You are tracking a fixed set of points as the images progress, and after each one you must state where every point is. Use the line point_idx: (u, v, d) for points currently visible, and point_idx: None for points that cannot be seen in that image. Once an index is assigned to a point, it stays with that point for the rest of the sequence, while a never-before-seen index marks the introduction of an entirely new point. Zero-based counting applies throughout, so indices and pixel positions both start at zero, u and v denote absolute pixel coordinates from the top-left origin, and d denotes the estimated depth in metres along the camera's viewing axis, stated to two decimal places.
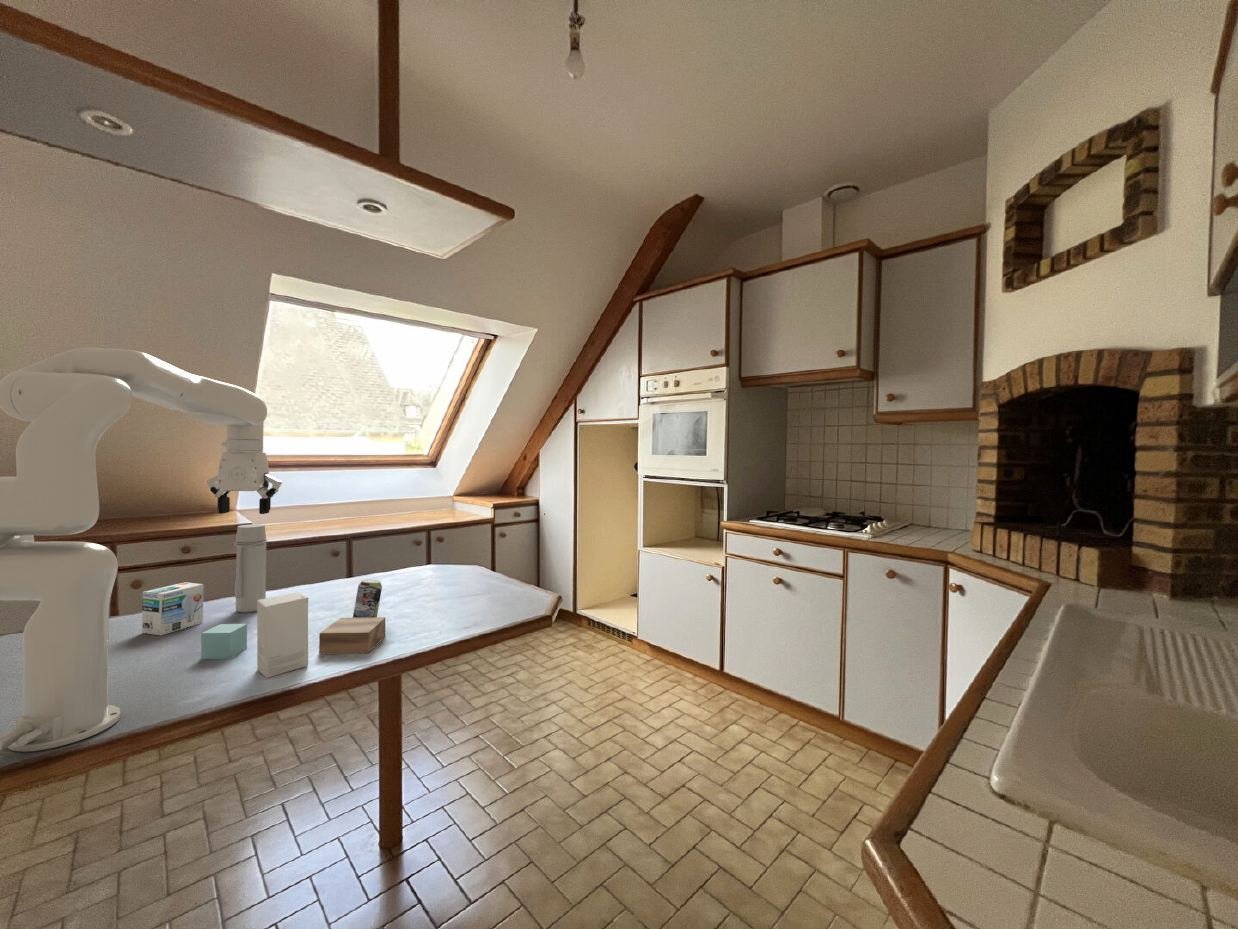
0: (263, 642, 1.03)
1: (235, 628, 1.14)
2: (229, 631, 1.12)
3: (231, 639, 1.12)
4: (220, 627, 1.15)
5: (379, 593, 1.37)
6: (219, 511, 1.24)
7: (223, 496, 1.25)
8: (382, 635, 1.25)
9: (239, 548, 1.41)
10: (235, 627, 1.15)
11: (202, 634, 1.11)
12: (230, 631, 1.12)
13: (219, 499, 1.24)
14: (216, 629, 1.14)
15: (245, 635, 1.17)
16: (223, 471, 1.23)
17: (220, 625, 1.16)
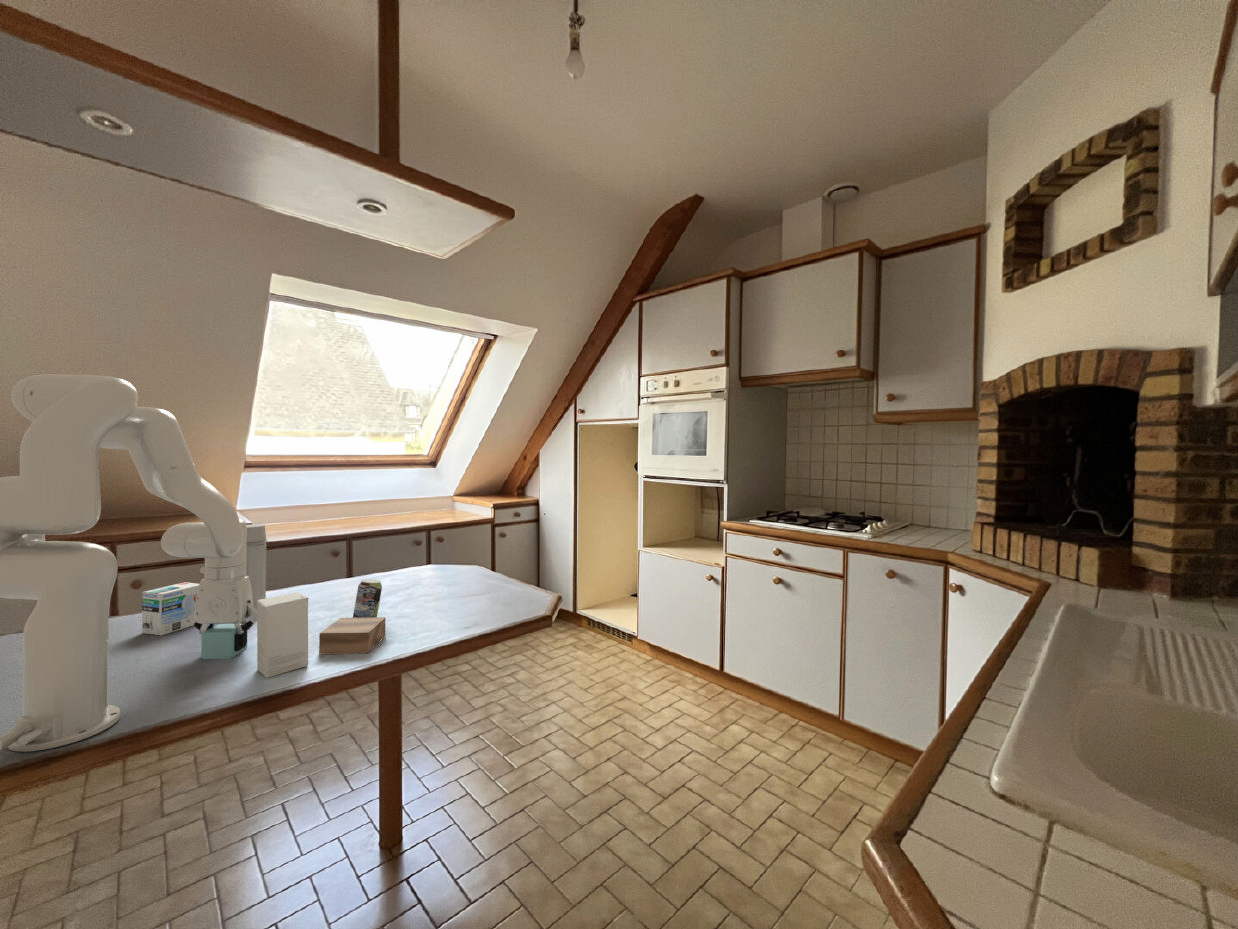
0: (263, 642, 1.03)
1: (235, 628, 1.14)
2: (229, 631, 1.12)
3: (231, 639, 1.12)
4: (220, 627, 1.15)
5: (379, 593, 1.37)
6: None
7: None
8: (382, 635, 1.25)
9: None
10: None
11: (202, 634, 1.11)
12: (230, 631, 1.12)
13: None
14: (216, 628, 1.14)
15: None
16: (201, 603, 1.11)
17: (220, 625, 1.16)
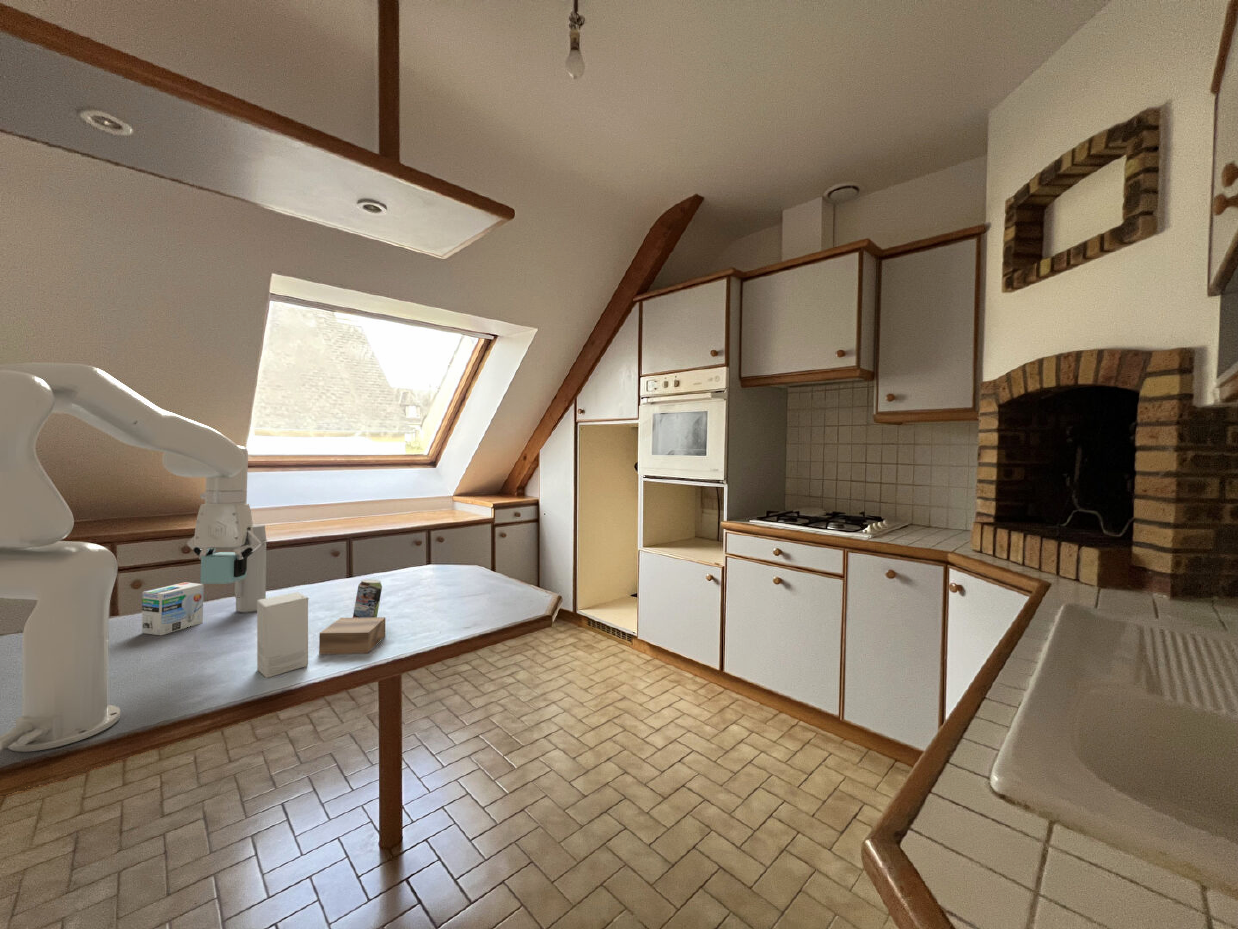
0: (263, 642, 1.03)
1: None
2: (229, 556, 1.12)
3: (231, 564, 1.11)
4: (220, 553, 1.14)
5: (379, 593, 1.37)
6: None
7: None
8: (382, 635, 1.25)
9: None
10: None
11: (202, 558, 1.10)
12: (230, 556, 1.12)
13: None
14: (216, 554, 1.13)
15: None
16: (201, 526, 1.11)
17: (220, 552, 1.15)
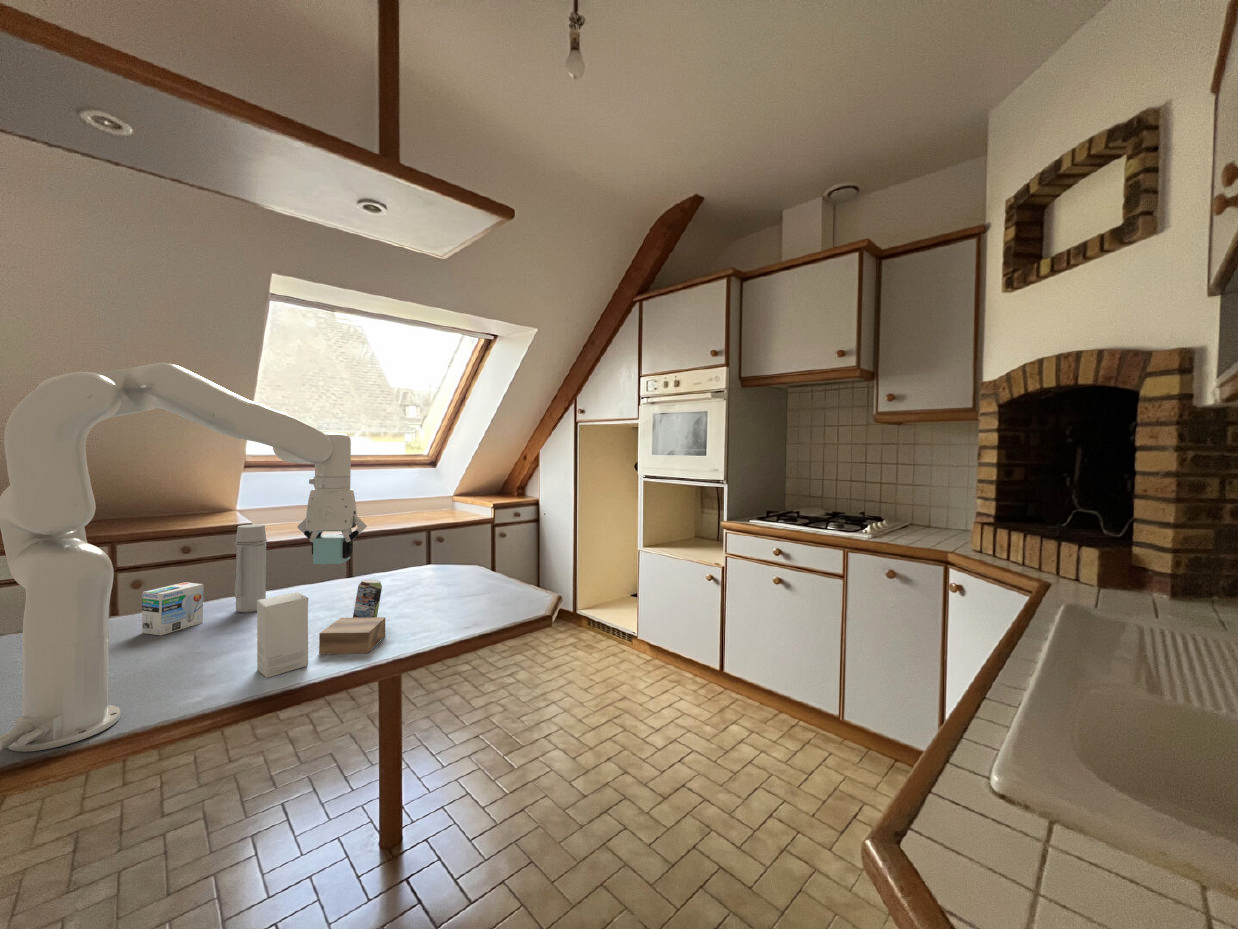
0: (263, 642, 1.03)
1: (342, 537, 1.20)
2: (338, 538, 1.18)
3: (341, 546, 1.18)
4: (327, 536, 1.20)
5: (379, 593, 1.37)
6: None
7: None
8: (382, 635, 1.25)
9: (239, 548, 1.41)
10: (341, 536, 1.21)
11: (314, 540, 1.16)
12: (339, 538, 1.18)
13: None
14: (325, 537, 1.19)
15: None
16: (312, 511, 1.16)
17: (326, 535, 1.21)
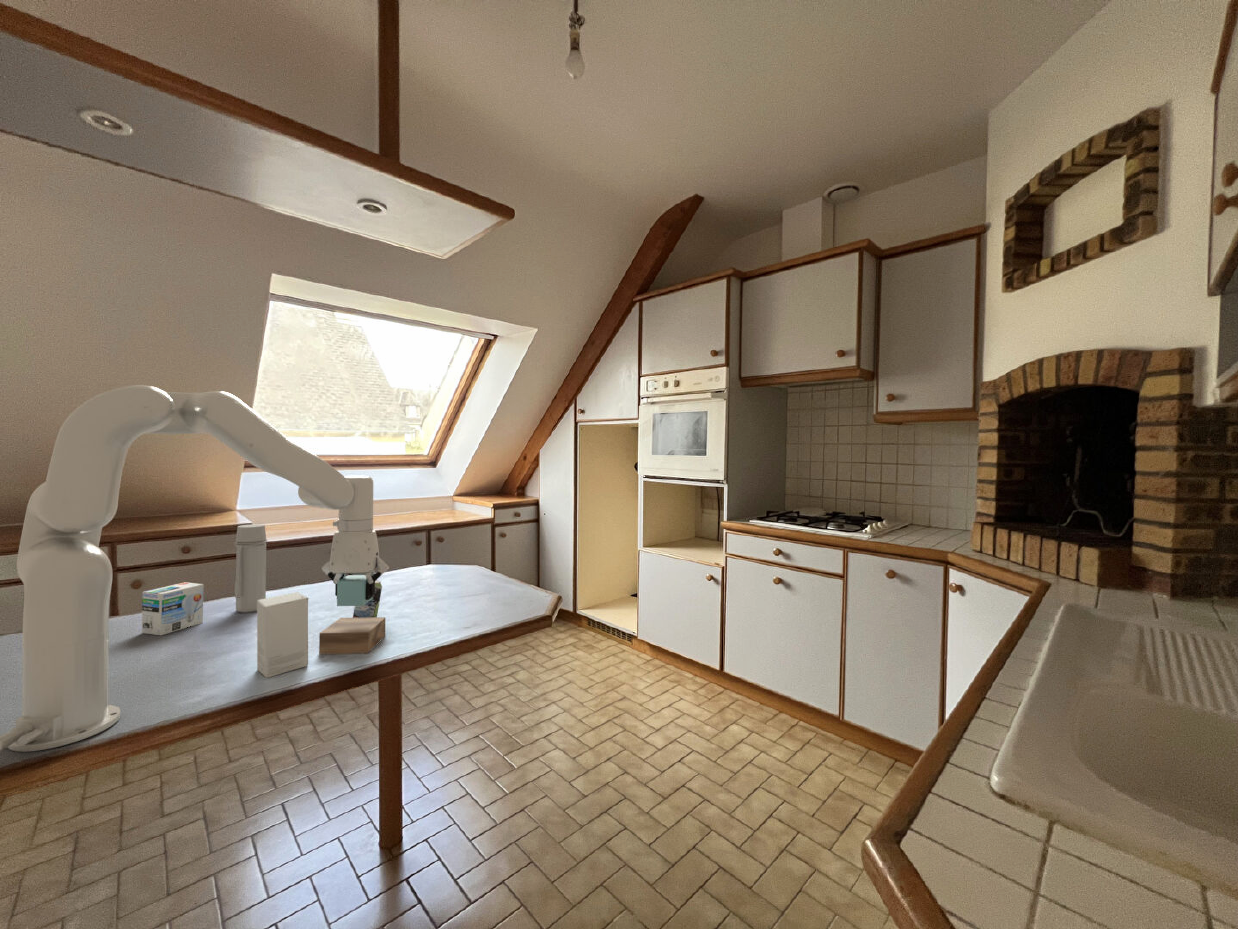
0: (263, 642, 1.03)
1: (365, 578, 1.21)
2: (361, 580, 1.19)
3: (364, 587, 1.19)
4: (350, 577, 1.22)
5: (379, 593, 1.37)
6: None
7: None
8: (382, 635, 1.25)
9: (239, 548, 1.41)
10: (364, 577, 1.22)
11: (338, 582, 1.18)
12: (362, 580, 1.19)
13: None
14: (348, 578, 1.21)
15: None
16: (336, 553, 1.18)
17: (349, 576, 1.23)
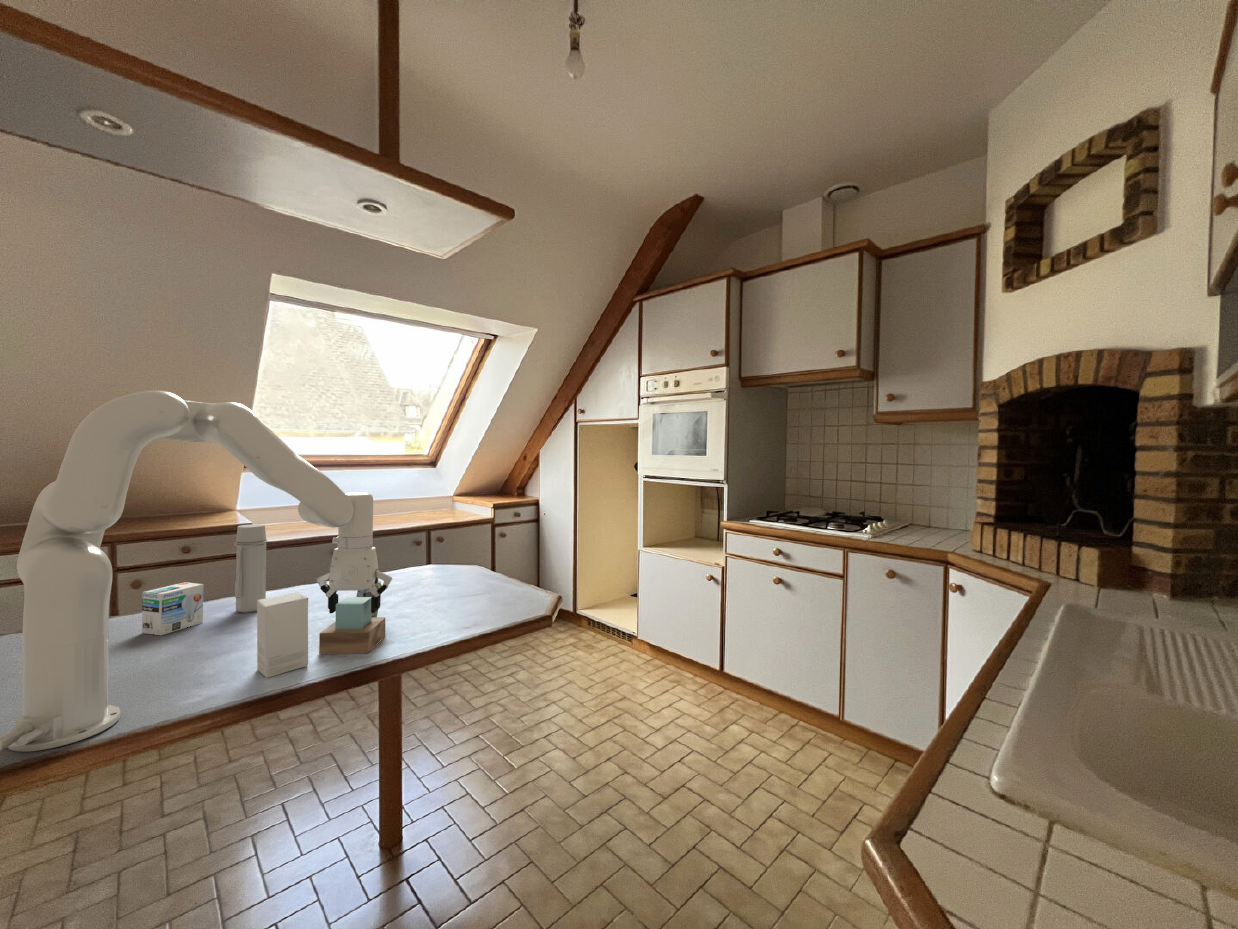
0: (263, 642, 1.03)
1: (364, 600, 1.21)
2: (360, 603, 1.19)
3: (362, 611, 1.19)
4: (349, 599, 1.22)
5: None
6: (330, 611, 1.19)
7: (333, 595, 1.20)
8: (382, 635, 1.25)
9: (239, 548, 1.41)
10: (363, 600, 1.22)
11: (336, 605, 1.18)
12: (361, 603, 1.19)
13: (330, 599, 1.19)
14: (347, 601, 1.20)
15: (370, 607, 1.24)
16: (335, 570, 1.18)
17: (348, 598, 1.23)
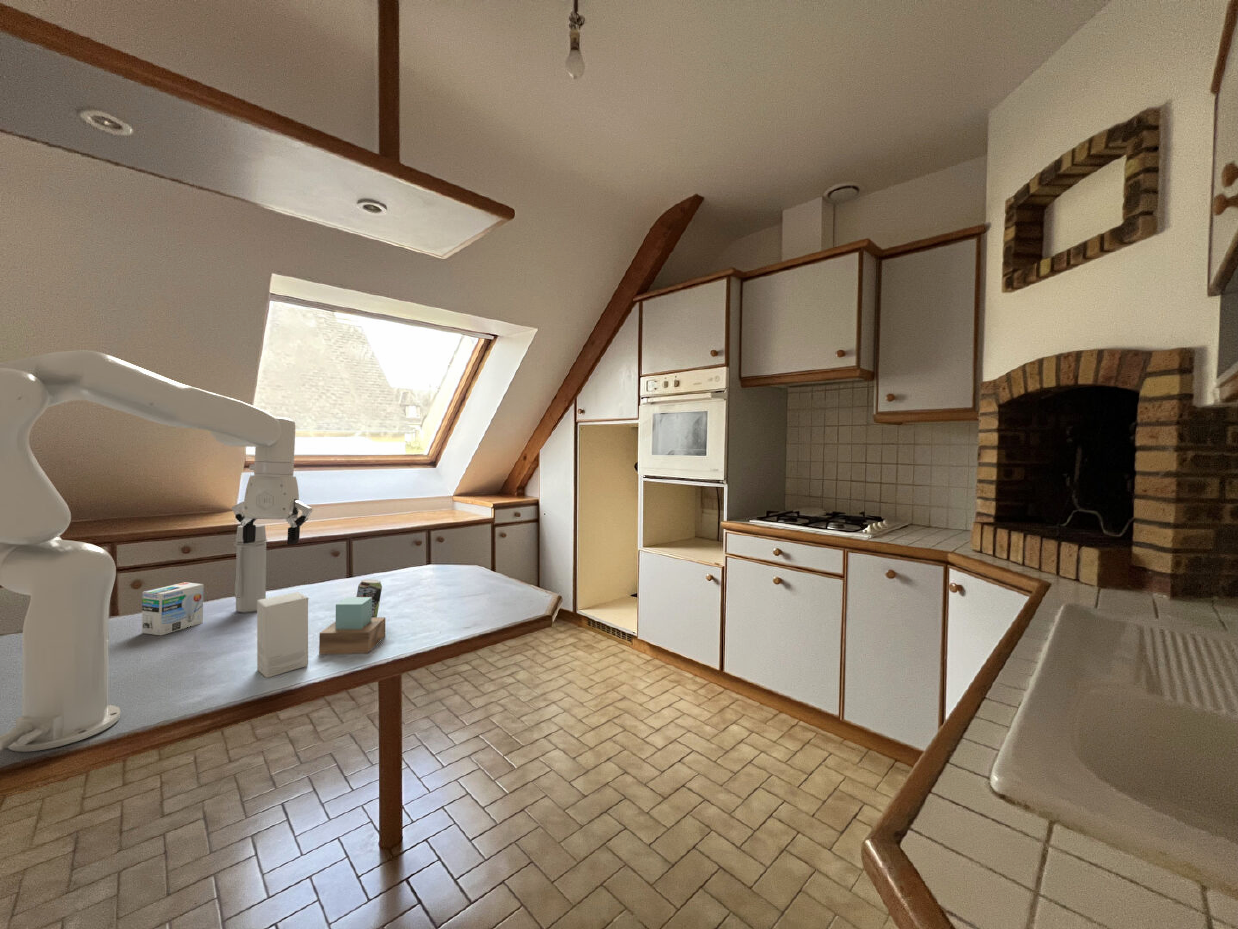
0: (263, 642, 1.03)
1: (364, 600, 1.21)
2: (360, 603, 1.19)
3: (362, 611, 1.19)
4: (349, 599, 1.22)
5: (379, 593, 1.37)
6: (244, 541, 1.12)
7: (249, 524, 1.14)
8: (382, 635, 1.25)
9: (239, 548, 1.41)
10: (363, 600, 1.22)
11: (336, 605, 1.18)
12: (361, 603, 1.19)
13: (244, 528, 1.12)
14: (347, 601, 1.20)
15: (370, 607, 1.24)
16: (250, 497, 1.12)
17: (348, 598, 1.23)
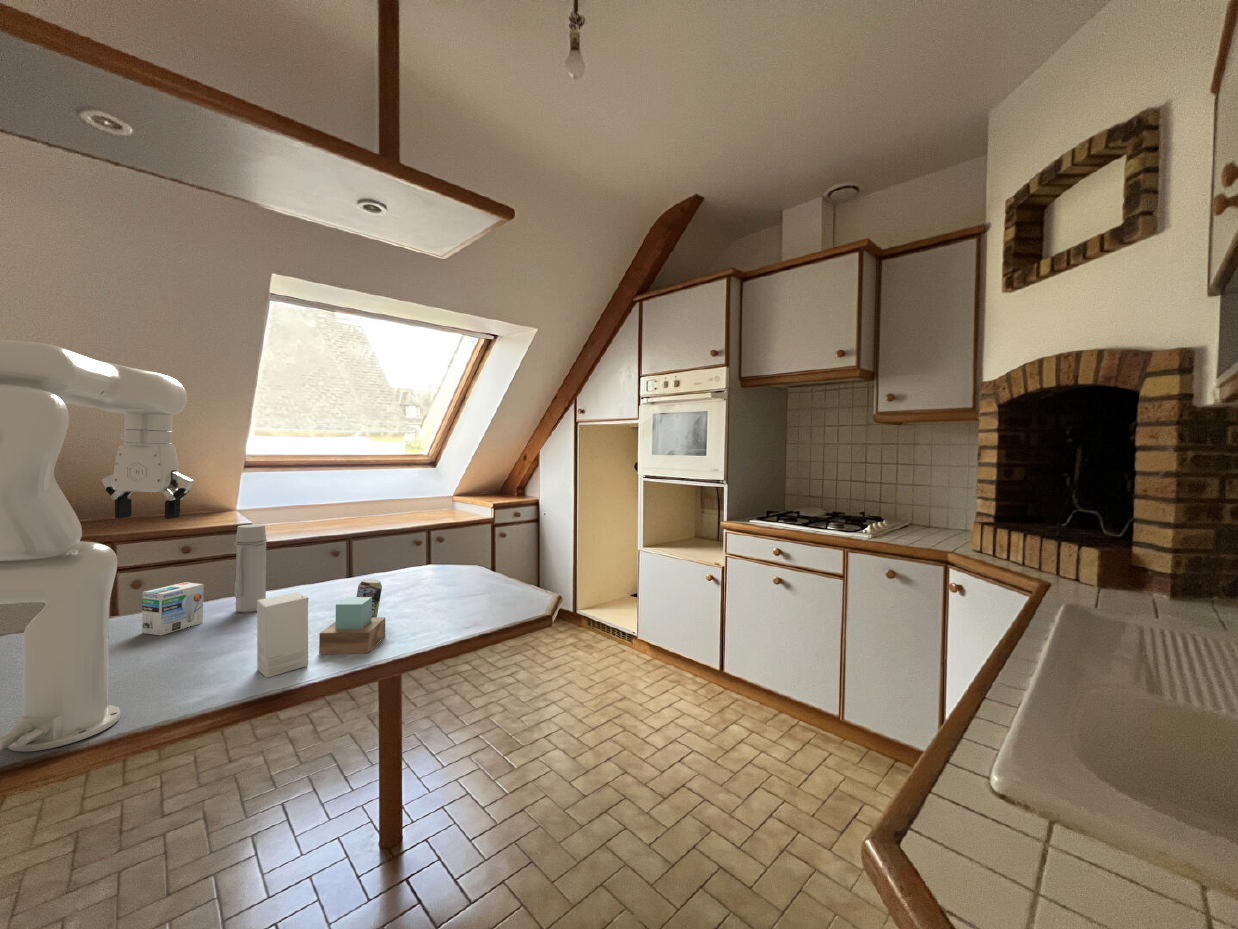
0: (263, 642, 1.03)
1: (364, 600, 1.21)
2: (360, 603, 1.19)
3: (362, 611, 1.19)
4: (349, 599, 1.22)
5: (379, 593, 1.37)
6: (116, 515, 1.04)
7: (122, 498, 1.05)
8: (382, 635, 1.25)
9: (239, 548, 1.41)
10: (363, 600, 1.22)
11: (336, 605, 1.18)
12: (361, 603, 1.19)
13: (116, 501, 1.04)
14: (347, 601, 1.20)
15: (370, 607, 1.24)
16: (120, 468, 1.03)
17: (348, 598, 1.23)
